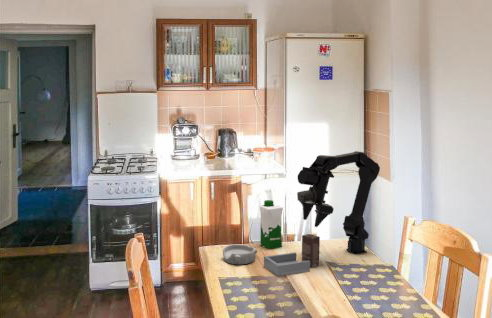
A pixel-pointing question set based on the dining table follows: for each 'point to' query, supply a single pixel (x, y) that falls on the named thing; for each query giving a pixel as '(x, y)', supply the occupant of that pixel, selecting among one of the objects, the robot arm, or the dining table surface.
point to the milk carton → (271, 225)
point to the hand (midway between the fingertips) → (310, 223)
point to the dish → (239, 254)
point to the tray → (285, 264)
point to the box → (311, 249)
